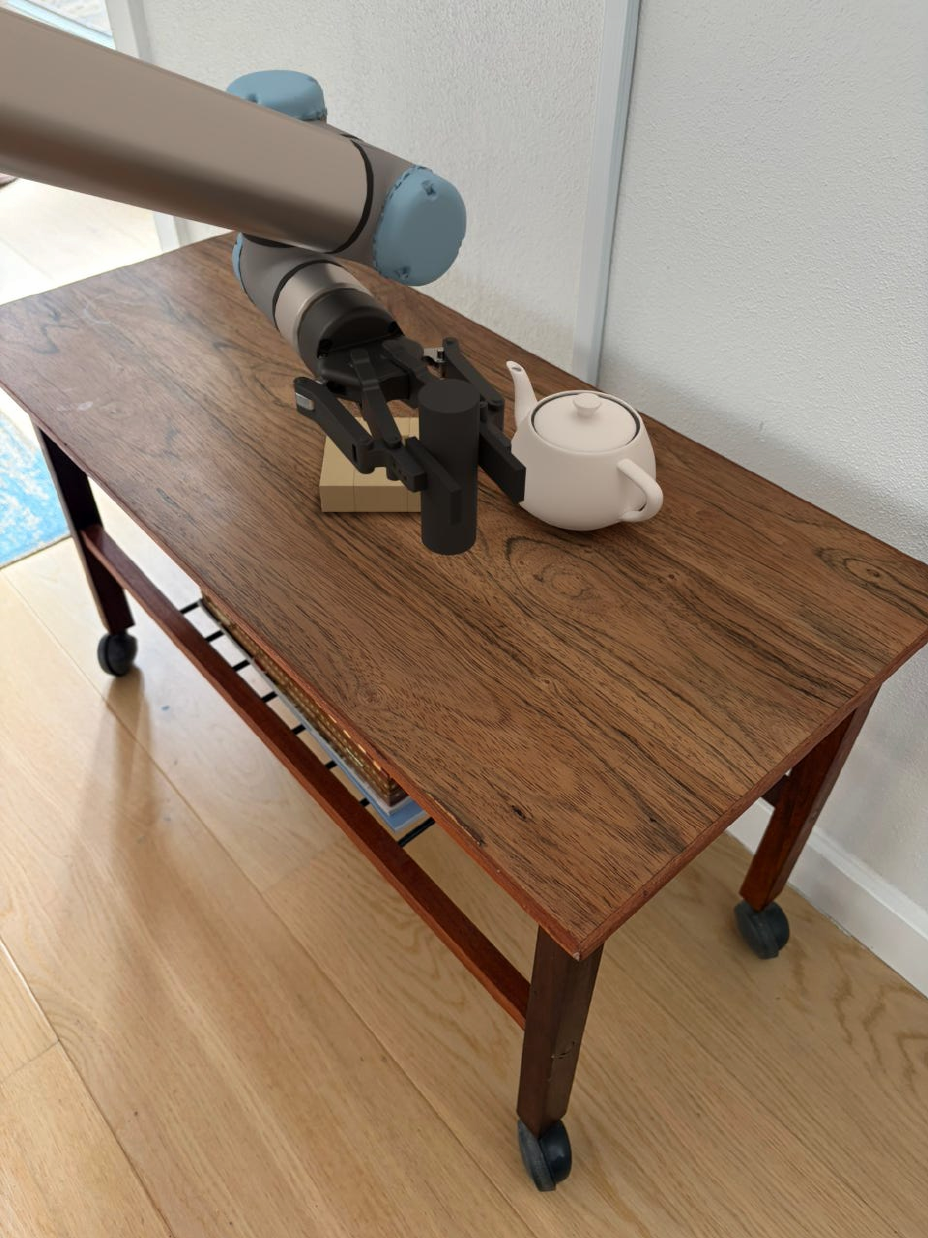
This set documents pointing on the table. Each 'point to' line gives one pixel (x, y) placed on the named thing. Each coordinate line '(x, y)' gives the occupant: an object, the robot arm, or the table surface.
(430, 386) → the black cylinder peg
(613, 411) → the teapot
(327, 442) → the base pad
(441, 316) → the table surface
